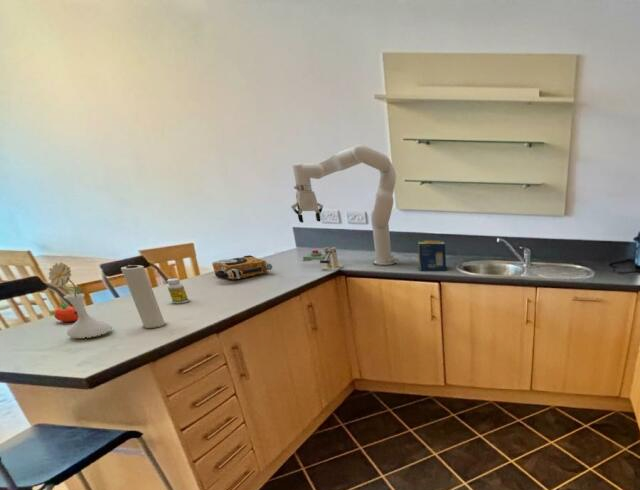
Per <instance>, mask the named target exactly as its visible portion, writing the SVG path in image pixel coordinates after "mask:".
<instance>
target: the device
mask: <svg viewBox="0 0 640 490" xmlns="http://www.w3.org/2000/svg"><path fill="white" fill-rule="evenodd" d="M211 265H212V268H213V272H214V275H215V276H216V277H217V278H220V279H230V280H240V279H243V278H249V277H252V276H253V277H254V276H255V275H259V274H264V273H267V271H271V270H273V265H272V263H270V262H267V261H266V260H264V259H261V258H258V257H256V256H253V255H250V254H249V255H244V256H241V257H234V258H233V257H232V258H226V259H220V260H217V261H213V262H211Z"/></svg>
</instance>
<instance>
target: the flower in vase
mask: <svg viewBox="0 0 640 490" xmlns="http://www.w3.org/2000/svg"><path fill="white" fill-rule="evenodd" d="M48 270H49V272H48V275H49V276H48V280H49V281H50V284H51V285H52V286H53V287H54V286H56V288H62V289H64V290H66V291H69V292H72V294H67V295H64V296H63V298H64V299H65V300H67V301H68V302H69V303H70V304H71V305H72V307H74V308H75V309H76V311H77V314H78V320H76V321H74V323H72V325H71V326H70V327H69V329H68V330H67V332H66V335H67V336H68V337H70V338H73V339H88V338H95V337H99V336H103V335H106V334H107V333H109V332H111V331H112V330H113V326H112V325H111V324H110V323H108V322H106V321H103V320H100V319H97V318H94V317H93V316H90V315H89V313H88V312H87V310H86V307H85V305H84V297H85V293H84V291H83V290H82V288H81V287H80V286H79V285H78V286H76V285H75V283H74V282H73V281H72V280H71V277H72V273H71V267H70V266H69V265H68V264H66V263H64V262H62V261H60V262H59V263H57V262H55V263H54V264H53V265H52V267H50V268H48ZM69 282H70V283H71V284H72V286H73V287H74V288H73V287H70V286H68V285H66V284H68V283H69ZM101 334H102V335H101ZM97 335H98V336H97ZM92 336H93V337H92ZM85 337H87V338H85Z"/></svg>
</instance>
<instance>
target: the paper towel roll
mask: <svg viewBox="0 0 640 490" xmlns="http://www.w3.org/2000/svg"><path fill="white" fill-rule="evenodd" d="M120 271H121V272H122V275H123V277H124V279H125V282H126V285H127V288H128V290H129V293H130V295H131V297H132V300H133V303H134V305H135V307H136V310H137V313H138V315H139V317H140V320H141V322H142V325H143V327H144V328H147V329H153V328H154V329H155V328H160V327H162V326H164V325H165V320H164V317H163V314H162V312H161V309H160V306H159V304H158V301H157V298H156V295H155V293H154V290H153V287H152V285H151V282H150V280H149V277H148V274H147V272H146V269H145V266H144V265H140V264H127V265H125V266H122V267H120Z"/></svg>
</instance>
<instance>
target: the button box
mask: <svg viewBox="0 0 640 490" xmlns="http://www.w3.org/2000/svg"><path fill="white" fill-rule="evenodd" d="M318 252H319V253H312V251H311V252H309V254H305V255H304V256H302V260H303V261H309V262H310V261H313V260H319V261H320V260H325V253H324V254H323V253H322V251H318Z"/></svg>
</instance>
